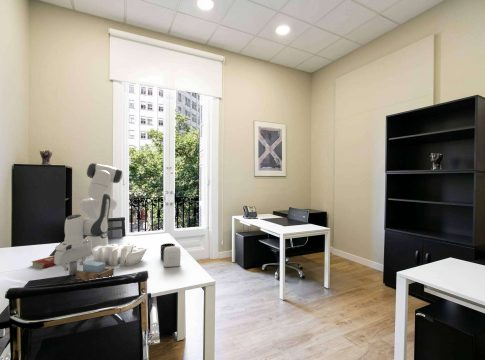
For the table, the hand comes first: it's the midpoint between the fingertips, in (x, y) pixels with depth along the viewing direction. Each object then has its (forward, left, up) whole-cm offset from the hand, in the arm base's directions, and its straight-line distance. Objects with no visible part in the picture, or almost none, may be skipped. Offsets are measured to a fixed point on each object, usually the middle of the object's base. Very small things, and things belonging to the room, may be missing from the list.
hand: (74, 267), depth 142 cm
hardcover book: (-28, +10, -4) cm, 30 cm away
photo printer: (+45, +29, -4) cm, 54 cm away
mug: (+36, +41, -4) cm, 55 cm away
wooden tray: (+14, 0, -4) cm, 15 cm away
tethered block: (+14, 0, -4) cm, 15 cm away
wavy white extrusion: (+7, +25, -4) cm, 26 cm away
